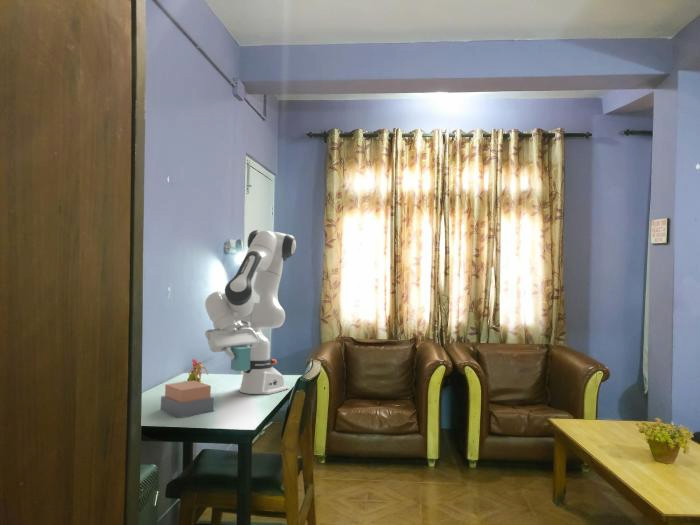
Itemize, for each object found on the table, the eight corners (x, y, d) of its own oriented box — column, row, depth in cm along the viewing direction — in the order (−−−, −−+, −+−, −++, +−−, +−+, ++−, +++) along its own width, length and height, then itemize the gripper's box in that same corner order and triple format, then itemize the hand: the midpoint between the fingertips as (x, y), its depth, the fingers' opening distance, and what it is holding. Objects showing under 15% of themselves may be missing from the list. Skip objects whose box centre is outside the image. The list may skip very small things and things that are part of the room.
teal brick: (242, 367, 197) (242, 346, 197) (249, 369, 194) (250, 347, 194) (230, 369, 194) (231, 347, 194) (238, 371, 190) (239, 349, 190)
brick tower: (194, 403, 208) (195, 379, 208) (213, 411, 198) (214, 385, 198) (160, 409, 198) (161, 384, 198) (179, 417, 188) (180, 391, 188)
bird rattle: (186, 385, 247) (187, 381, 240) (187, 362, 252) (187, 357, 244) (200, 385, 249) (201, 381, 242) (200, 362, 254) (201, 357, 246)
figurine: (186, 392, 225) (187, 364, 226) (189, 389, 231) (190, 362, 232) (206, 392, 226) (207, 365, 226) (208, 389, 232) (209, 362, 232)
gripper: (207, 324, 191) (221, 355, 184) (253, 321, 206) (267, 350, 199) (200, 335, 194) (213, 365, 187) (245, 332, 209) (260, 360, 202)
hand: (241, 357), depth 193 cm, fingers closed on teal brick, 5 cm apart
